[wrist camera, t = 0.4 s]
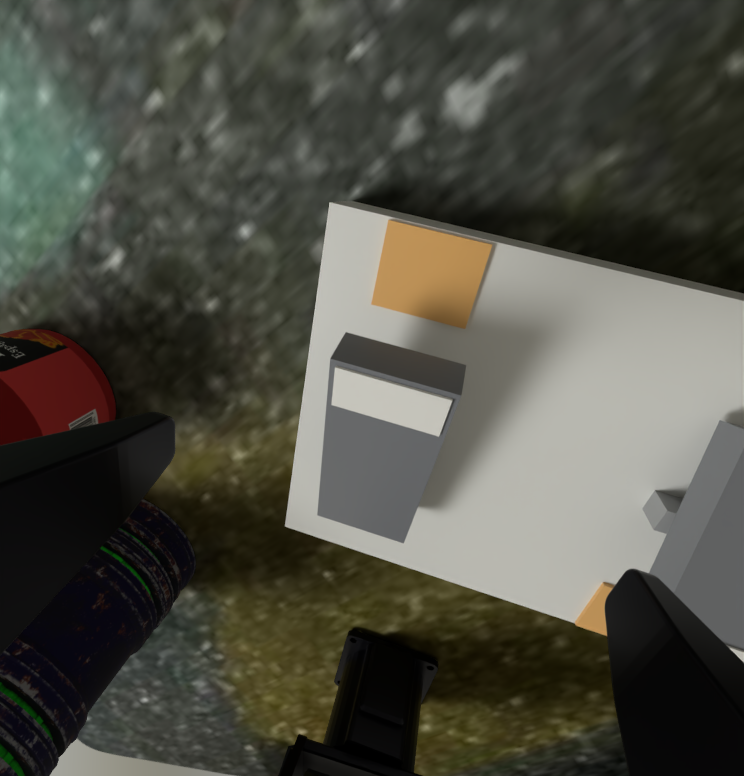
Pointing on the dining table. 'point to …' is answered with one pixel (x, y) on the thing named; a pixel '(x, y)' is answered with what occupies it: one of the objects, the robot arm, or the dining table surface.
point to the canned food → (49, 386)
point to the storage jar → (87, 638)
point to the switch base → (528, 403)
